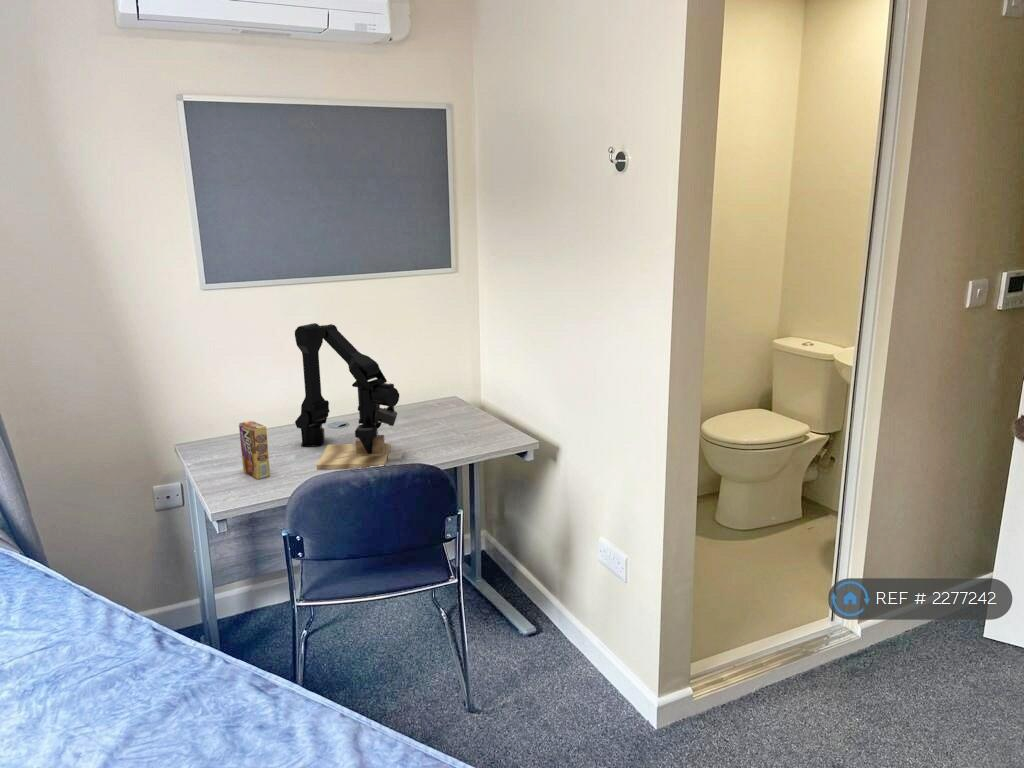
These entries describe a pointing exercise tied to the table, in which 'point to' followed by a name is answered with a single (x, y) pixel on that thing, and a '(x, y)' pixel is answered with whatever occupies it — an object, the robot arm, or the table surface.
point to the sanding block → (377, 447)
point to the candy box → (254, 449)
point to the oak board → (349, 457)
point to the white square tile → (394, 456)
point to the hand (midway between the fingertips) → (371, 450)
